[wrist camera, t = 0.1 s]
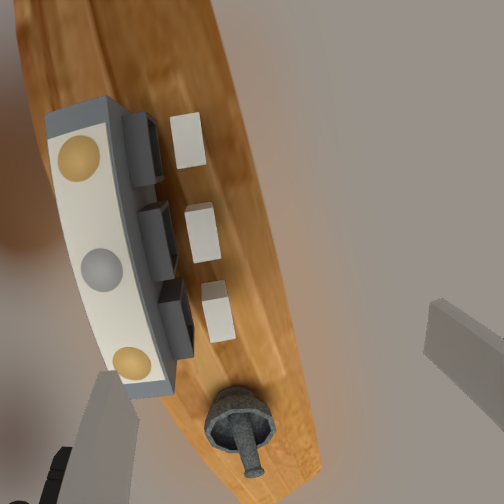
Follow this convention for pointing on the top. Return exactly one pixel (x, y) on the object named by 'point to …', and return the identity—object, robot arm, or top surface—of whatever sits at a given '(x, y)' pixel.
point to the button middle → (202, 232)
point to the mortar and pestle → (240, 426)
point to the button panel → (121, 241)
